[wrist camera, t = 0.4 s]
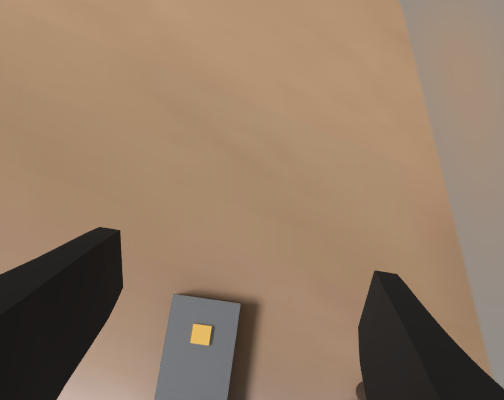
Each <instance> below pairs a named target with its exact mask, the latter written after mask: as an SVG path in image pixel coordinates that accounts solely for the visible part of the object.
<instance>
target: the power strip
mask: <svg viewBox="0 0 504 400" xmlns="http://www.w3.org/2000/svg"><path fill="white" fill-rule="evenodd" d="M240 305H241V303H235V302H228V301H221V300H214V299H207V298H200V297H193V296H186V295H179V294H173V297H172V303H171V309H170V314H169V320H168V326H167V331H166V337H165V343H164V348H163V354H162V359H161V365H160V371H159V376H158V382H157V388H156V393H155V399H154V400H227V397H228V390H229V383H230V376H231V369H232V362H233V355H234V347H235V340H236V333H237V326H238V319H239V312H240Z"/></svg>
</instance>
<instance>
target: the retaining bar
mask: <svg viewBox="0 0 504 400" xmlns="http://www.w3.org/2000/svg"><path fill="white" fill-rule="evenodd" d="M356 394H357V397H358V400H366V396H365V390H364V384H363V382H361V383H359V384H358V386H357V388H356Z"/></svg>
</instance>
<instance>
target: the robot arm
mask: <svg viewBox="0 0 504 400" xmlns="http://www.w3.org/2000/svg"><path fill="white" fill-rule="evenodd" d="M122 289H123V276H122V257H121V237H120V230H115V229H109V228H103V227H99V228H96V229H94V230H92V231H89V232H87V233H85V234H83V235H81V236H79V237H77V238H75V239H73V240H71V241H69V242H67V243H66V244H64V245H62V246H60V247H58V248H56V249H54V250H52V251H50V252H48V253H46V254H44V255H42V256H40V257H38V258H36V259H34V260H31V261H29V262H27V263H25V264H23V265H20V266H18V267H16V268H14V269H12V270H9V271H7V272H5V273H3V274H1V275H0V400H57V398H58V396H59V395H60V393H61V391H62V390H63V388H64V386H65V384H66V383H67V381H68V380H69V378H70V377H71V375H72V374H73V372H74V371H75V369H76V368H77V366H78V365H79V363H80V362H81V360H82V358H83V357H84V355H85V354H86V352H87V351H88V349H89V348H90V346H91V345H92V343H93V342H94V340H95V339H96V337H97V335H98V334H99V332H100V331H101V329H102V328H103V326H104V325H105V323H106V321H107V320H108V318H109V316H110V314H111V312H112V310H113V308H114V306H115V304H116V302H117V300H118V297H119V295H120V293H121V291H122ZM358 333H359V357H360V366H361V372H362V378H363V384H364V390H365V396H366V400H504V389H503V388H502V387H501V386H500V385H499V384H498V383H496V382H495V381H494V380H493V379H492V378H491V377H490V376H489V375H488V374H487V373H485V372H484V371H483V370H482V369H481V368H480V367H479V366H478V365H477V364H476V363H475V362H474V361H473V360H472V359H471V358H470V357H469V356H468V355H467V354H466V353H465V352H464V351H463V350H462V349H461V348H460V347H459V346H458V345H457V344H456V343H455V341H454V340H453V339H452V338H451V337H450V336H449V335H448V334H447V333H446V332H445V331H444V329H443V328H442V327H441V326H440V325H439V324H438V323H437V321H436V320H435V319H434V318H433V317H432V316H431V314H430V313H429V312H428V311H427V310H426V308H425V307H424V306H423V305H422V304H421V302H420V301H419V300H418V299H417V298H416V296H415V295H414V294H413V293H412V291H411V290H410V289H409V288H408V286H407V285H406V284H405V283H404V281H403V280H402V279H401V278H400V277H399V276H398V274H393V273H387V272H381V271H374V274H373V278H372V281H371V285H370V288H369V291H368V295H367V298H366V302H365V305H364V309H363V312H362V316H361V319H360V323H359V326H358Z"/></svg>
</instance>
